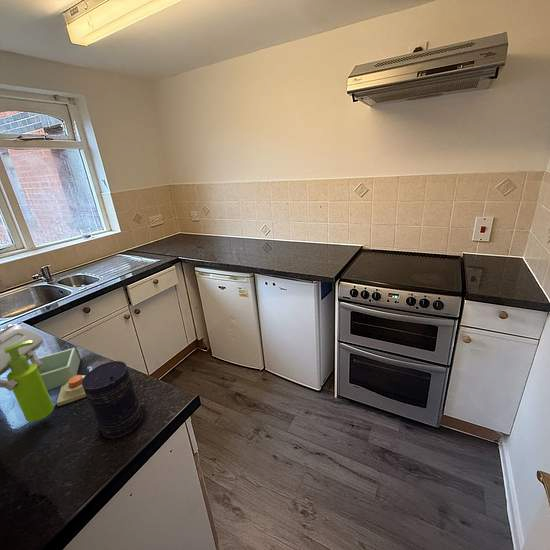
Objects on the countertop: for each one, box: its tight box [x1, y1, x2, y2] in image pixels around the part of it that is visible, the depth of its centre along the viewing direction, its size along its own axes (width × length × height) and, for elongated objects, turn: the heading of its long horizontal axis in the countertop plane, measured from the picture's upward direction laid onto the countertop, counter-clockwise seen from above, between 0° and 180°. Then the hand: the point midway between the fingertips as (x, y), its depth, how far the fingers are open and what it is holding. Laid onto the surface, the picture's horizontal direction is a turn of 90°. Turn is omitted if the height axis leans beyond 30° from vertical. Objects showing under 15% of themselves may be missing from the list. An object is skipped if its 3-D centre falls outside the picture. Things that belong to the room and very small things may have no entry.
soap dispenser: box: [4, 340, 55, 423], centre depth 74 cm, size 6×7×20 cm
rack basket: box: [30, 347, 81, 391], centre depth 95 cm, size 12×12×6 cm
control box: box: [55, 374, 87, 407], centre depth 88 cm, size 10×8×3 cm
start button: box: [68, 374, 83, 388], centre depth 87 cm, size 4×4×2 cm
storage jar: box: [82, 360, 144, 439], centre depth 73 cm, size 10×10×15 cm
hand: (28, 376), depth 73 cm, fingers closed on soap dispenser, 6 cm apart
